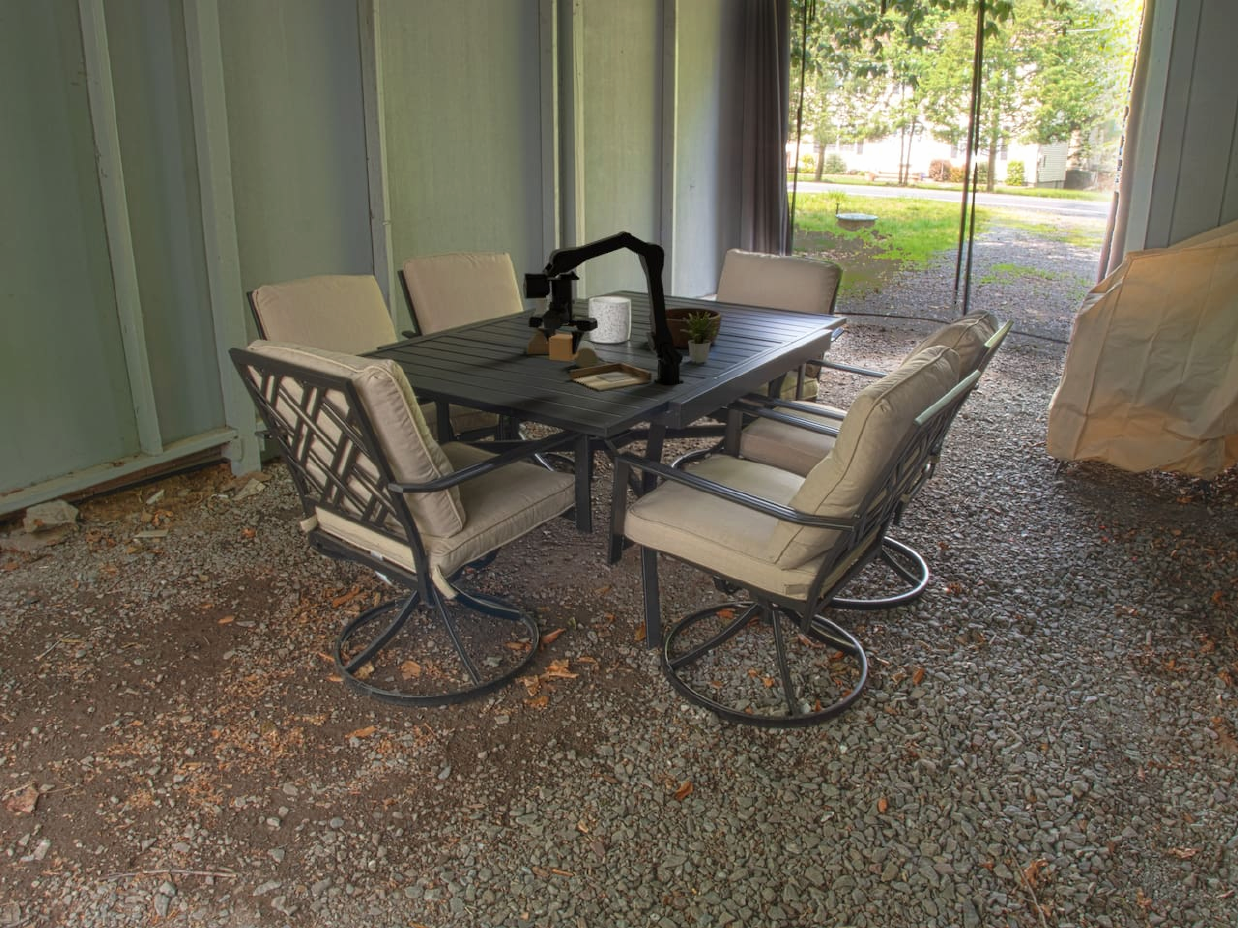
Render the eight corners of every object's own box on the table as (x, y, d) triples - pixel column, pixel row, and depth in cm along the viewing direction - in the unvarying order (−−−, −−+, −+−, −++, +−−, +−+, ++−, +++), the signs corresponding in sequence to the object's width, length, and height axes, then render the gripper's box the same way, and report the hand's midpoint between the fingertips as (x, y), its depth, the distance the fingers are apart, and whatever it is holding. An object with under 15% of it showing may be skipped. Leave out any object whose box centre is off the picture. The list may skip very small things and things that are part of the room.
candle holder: (559, 354, 289) (556, 281, 281) (526, 354, 289) (522, 281, 281) (561, 346, 299) (559, 276, 291) (529, 347, 299) (526, 276, 291)
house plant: (720, 368, 268) (721, 315, 263) (675, 366, 271) (676, 314, 266) (724, 357, 282) (725, 307, 276) (681, 356, 284) (682, 306, 279)
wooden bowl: (732, 340, 308) (733, 310, 304) (700, 353, 288) (701, 322, 284) (670, 333, 320) (671, 305, 317) (635, 345, 300) (635, 316, 297)
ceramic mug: (574, 371, 267) (574, 346, 264) (571, 364, 275) (570, 340, 272) (608, 369, 269) (608, 345, 266) (604, 363, 276) (604, 339, 274)
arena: (651, 381, 254) (651, 372, 253) (599, 391, 244) (599, 381, 243) (620, 371, 266) (620, 362, 265) (570, 379, 257) (569, 370, 256)
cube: (578, 356, 245) (577, 335, 243) (569, 361, 239) (568, 339, 237) (558, 354, 247) (558, 333, 245) (549, 359, 241) (548, 337, 239)
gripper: (517, 299, 233) (520, 357, 239) (581, 303, 227) (583, 362, 232) (536, 293, 243) (538, 348, 249) (598, 297, 237) (599, 353, 242)
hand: (563, 353), depth 243 cm, fingers closed on cube, 6 cm apart
